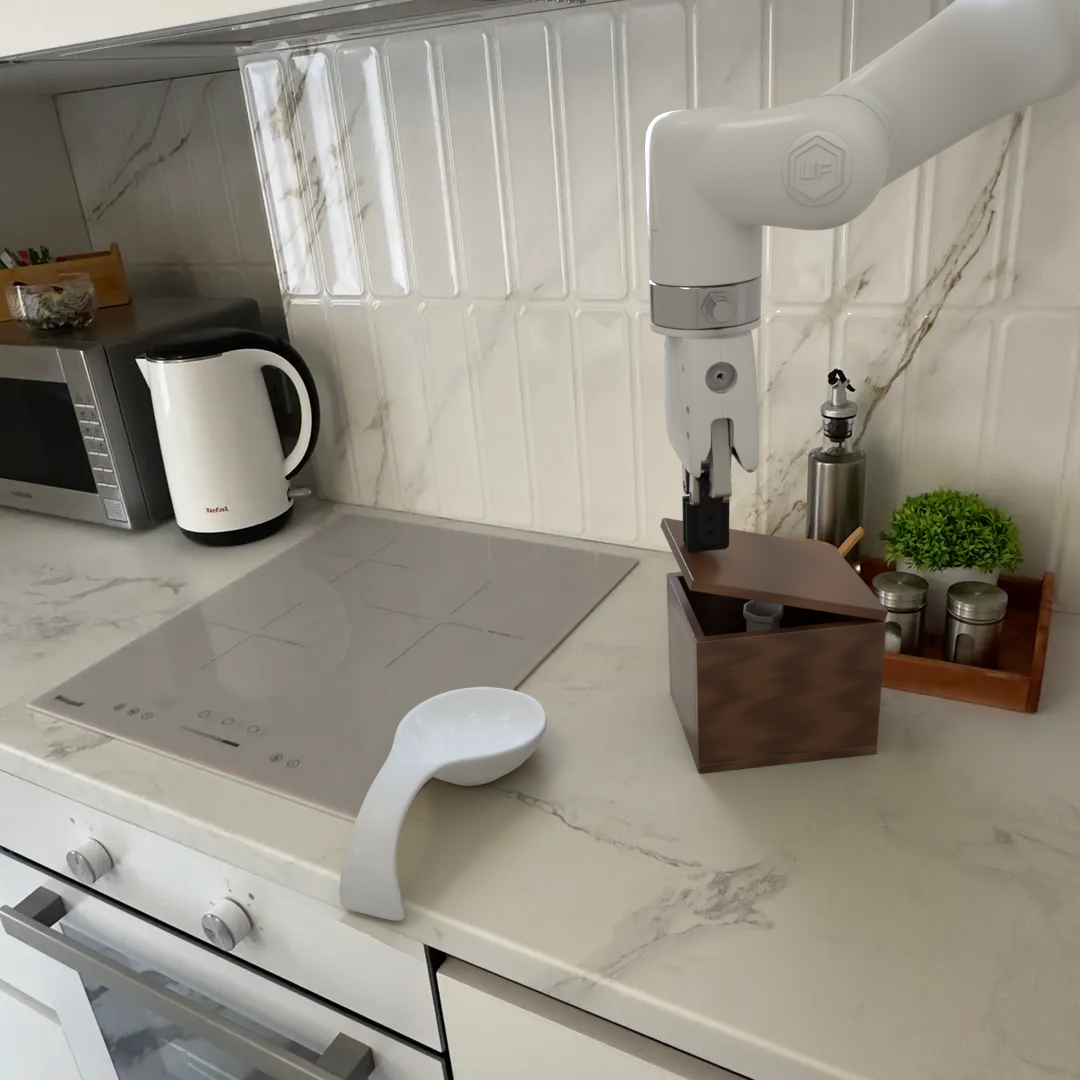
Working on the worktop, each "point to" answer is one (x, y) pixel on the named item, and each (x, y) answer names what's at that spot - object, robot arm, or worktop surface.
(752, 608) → the flask
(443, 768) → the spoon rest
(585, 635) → the worktop surface
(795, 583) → the lid
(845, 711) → the box
